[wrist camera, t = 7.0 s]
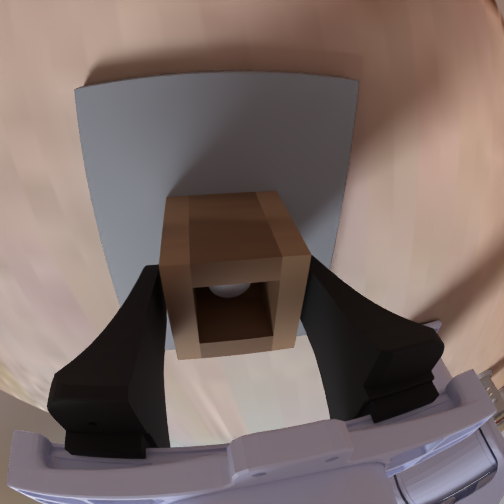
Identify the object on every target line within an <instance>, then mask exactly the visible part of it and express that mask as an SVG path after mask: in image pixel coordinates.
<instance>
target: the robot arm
mask: <svg viewBox="0 0 504 504" xmlns="http://www.w3.org/2000/svg"><path fill="white" fill-rule="evenodd" d="M300 320H301V322H302V324H303V327H304V329H305V332H306V334H307V336H308V339H309V341H310V343H311V346H312V348H313V351H314V354H315V357H316V360H317V364H318V367H319V371H320V375H321V378H322V382H323V386H324V390H325V395H326V399H327V404H328V409H329V414H330V419H329V420H322V421H317V422H313V423H308V424H303V425H298V426H293V427H288V428H282V429H277V430H271V431H264V432H258V433H253V434H249V435H244V436H241V437H239V438H237V439H235V440H233V441H232V442H231V443H227V444H218V445H207V446H193V447H175V448H170V441H169V433H168V425H167V415H166V404H165V390H164V354H165V341H166V329H167V307H166V302H165V297H164V292H163V287H162V282H161V276H160V271H159V264H157V265H146V266H145V267H144V268H143V270H142V272H141V274H140V276H139V278H138V279H137V281H136V283H135V285H134V287H133V288H132V290H131V292H130V293H129V295H128V297H127V298H126V300H125V302H124V303H123V305H122V306H121V308H120V309H119V311H118V312H117V314H116V315H115V316H114V318H113V319H112V320H111V322H110V323H109V324H108V325H107V327H106V328H105V329H104V330H103V331H102V333H101V334H100V335H99V336H98V337H97V338H96V339H95V340H94V341H93V342H92V344H91V345H90V346H89V347H87V348H86V349H85V350H84V351H83V352H82V353H81V354H80V355H79V356H77V357H76V358H75V359H74V360H73V361H71V362H70V363H69V364H67V365H66V366H65V367H63V368H62V369H61V370H59V371H58V372H57V373H55V375H54V378H53V381H52V384H51V388H50V392H49V398H48V403H47V408H48V411H49V413H50V414H51V415H52V416H53V418H54V419H55V420H56V421H57V422H58V423H59V424H60V425H61V426H62V427H63V428H64V429H65V430H66V437H65V444H60V443H52V442H50V441H49V439H48V438H47V437H45V436H43V435H41V434H39V433H35V432H29V431H23V430H17V429H16V430H14V435H13V441H12V447H11V453H10V460H9V468H8V477H7V485H8V486H9V487H11V488H13V489H14V490H16V491H18V492H20V493H22V494H24V495H26V496H28V497H30V498H32V499H34V500H36V501H39V502H41V503H45V504H499V502H500V501H501V499H502V497H503V495H504V438H503V436H502V434H501V432H500V430H499V428H498V426H497V424H496V423H495V421H494V419H493V417H492V416H493V415H494V414H495V413H496V412H497V409H496V407H495V405H494V403H493V402H492V400H491V398H490V396H489V395H488V393H487V391H486V390H485V388H484V386H483V385H482V383H481V381H480V380H479V378H478V376H477V375H476V373H475V371H474V370H473V369H471V370H469V371H466V372H464V373H462V374H459V375H457V376H455V377H454V378H453V377H452V376H451V374H450V372H449V371H448V369H447V367H446V366H445V364H444V362H443V361H442V359H441V356H442V354H443V351H444V343H443V342H442V340H441V339H440V337H439V336H438V334H437V332H438V331H439V329H440V327H441V325H442V323H441V321H434V322H431V323H427V324H423V325H422V324H419V323H416V322H413V321H410V320H408V319H406V318H403V317H401V316H399V315H396V314H394V313H392V312H390V311H388V310H386V309H384V308H382V307H381V306H379V305H377V304H375V303H374V302H372V301H370V300H369V299H367V298H366V297H364V296H362V295H361V294H360V293H358V292H357V291H355V290H354V289H353V288H351V287H350V286H349V285H347V284H346V283H345V282H343V281H342V280H341V279H340V278H338V277H337V276H336V275H335V274H334V273H332V272H331V271H330V270H329V269H328V268H327V267H326V266H324V265H323V264H322V263H321V262H320V261H319V260H318V259H316V258H315V257H314V256H313V255H311V261H310V266H309V272H308V278H307V283H306V289H305V294H304V300H303V305H302V310H301V315H300ZM490 471H491V472H490ZM489 472H490V473H489ZM487 473H488V474H487ZM486 474H487V475H486ZM484 475H486V476H484ZM483 476H484V477H483ZM481 477H483V478H481ZM480 478H481V479H480ZM478 479H480V480H478ZM476 480H478V481H476ZM475 481H476V482H475ZM473 482H475V483H473ZM471 483H473V484H471ZM470 484H471V485H470ZM468 485H470V486H468ZM466 486H468V487H466ZM464 487H466V488H465V489H463V488H464ZM461 489H463V490H461ZM459 490H461V491H460V492H458V491H459ZM456 492H458V493H456ZM454 493H456V494H454ZM452 494H454V495H453V496H450V495H452ZM449 496H450V497H449ZM446 497H449V498H447V499H445V498H446ZM443 499H445V500H443ZM441 500H442V501H441Z"/></svg>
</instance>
